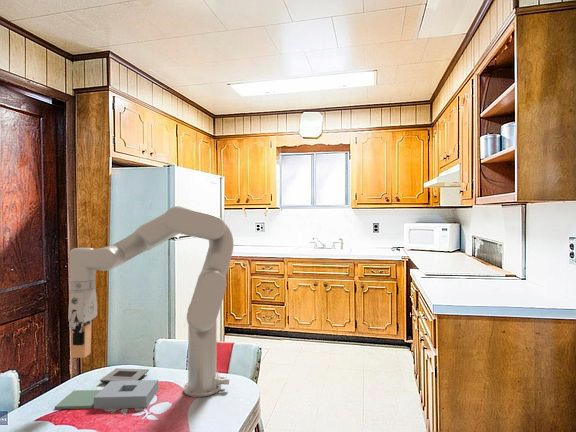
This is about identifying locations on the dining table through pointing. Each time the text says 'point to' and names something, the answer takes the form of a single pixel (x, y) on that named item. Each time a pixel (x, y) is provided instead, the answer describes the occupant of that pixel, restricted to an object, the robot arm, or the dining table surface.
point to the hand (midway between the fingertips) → (82, 341)
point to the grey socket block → (126, 394)
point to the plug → (84, 349)
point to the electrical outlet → (124, 375)
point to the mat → (78, 400)
